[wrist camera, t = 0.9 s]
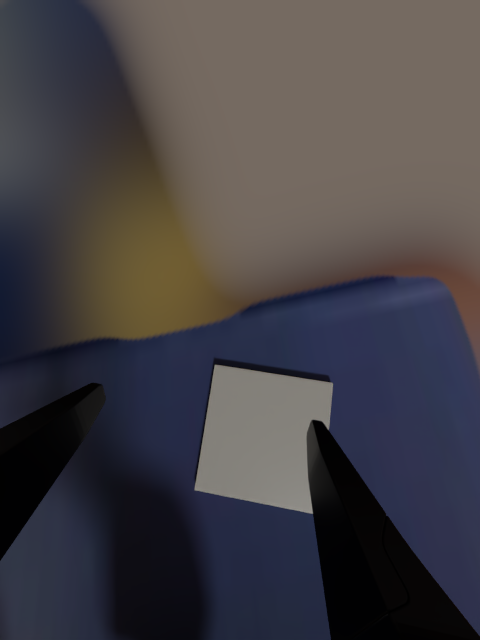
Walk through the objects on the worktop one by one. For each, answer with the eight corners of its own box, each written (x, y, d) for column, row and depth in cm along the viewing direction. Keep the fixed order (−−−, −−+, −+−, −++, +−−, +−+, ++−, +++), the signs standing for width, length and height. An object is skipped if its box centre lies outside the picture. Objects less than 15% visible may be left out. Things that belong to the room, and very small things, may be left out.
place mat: (319, 510, 22) (320, 515, 21) (196, 486, 23) (194, 490, 22) (331, 382, 24) (333, 383, 23) (215, 364, 25) (214, 364, 24)
